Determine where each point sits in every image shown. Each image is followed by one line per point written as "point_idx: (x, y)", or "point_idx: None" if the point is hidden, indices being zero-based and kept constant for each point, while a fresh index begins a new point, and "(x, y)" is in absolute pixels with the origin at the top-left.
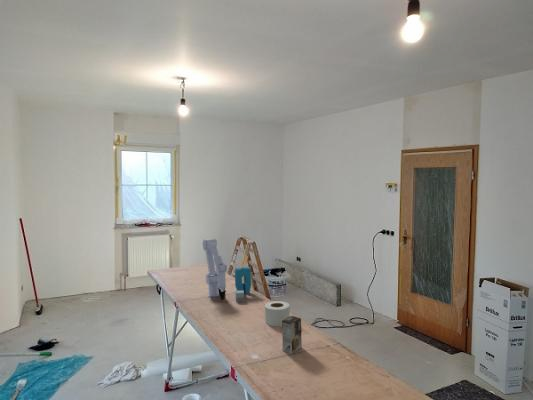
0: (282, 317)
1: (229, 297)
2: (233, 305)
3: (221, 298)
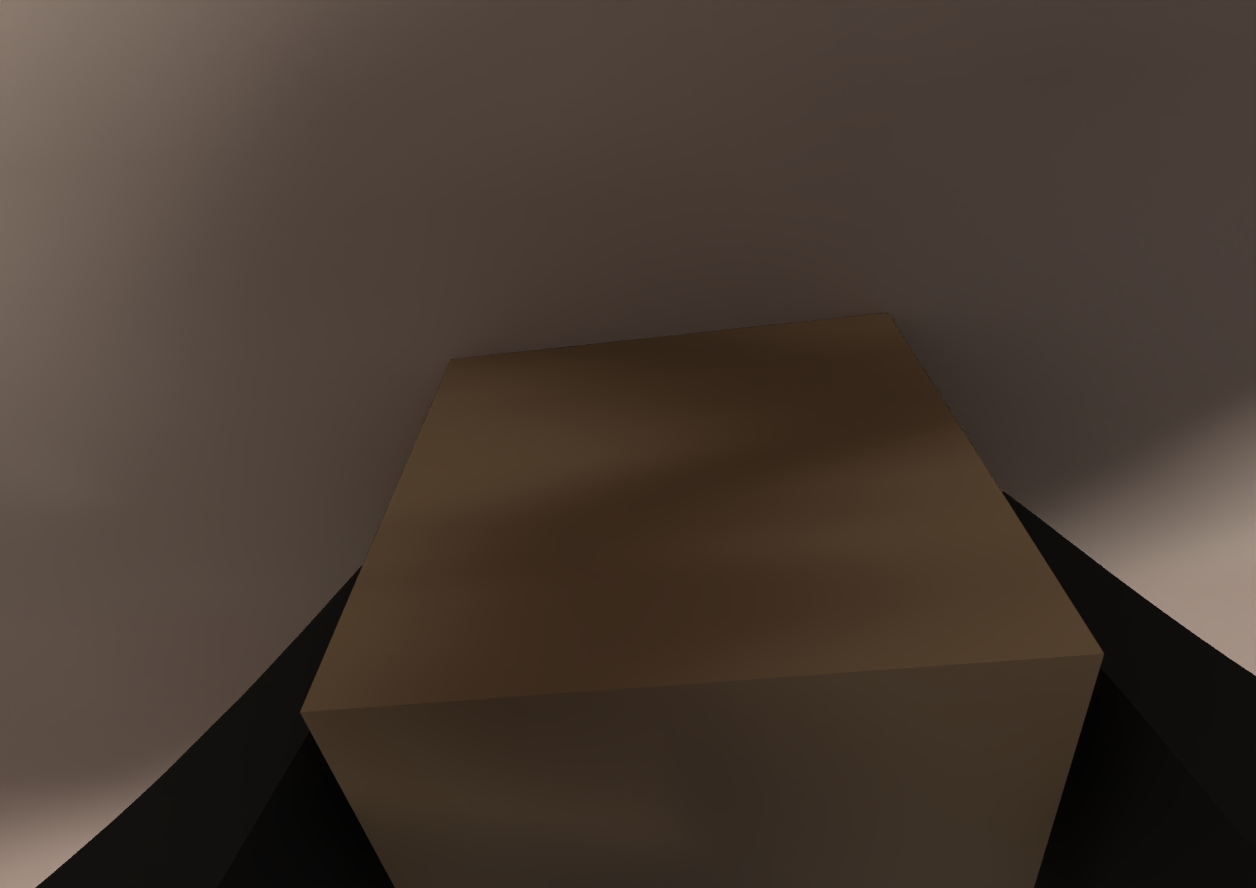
0: None
1: None
2: (19, 867)
3: None
